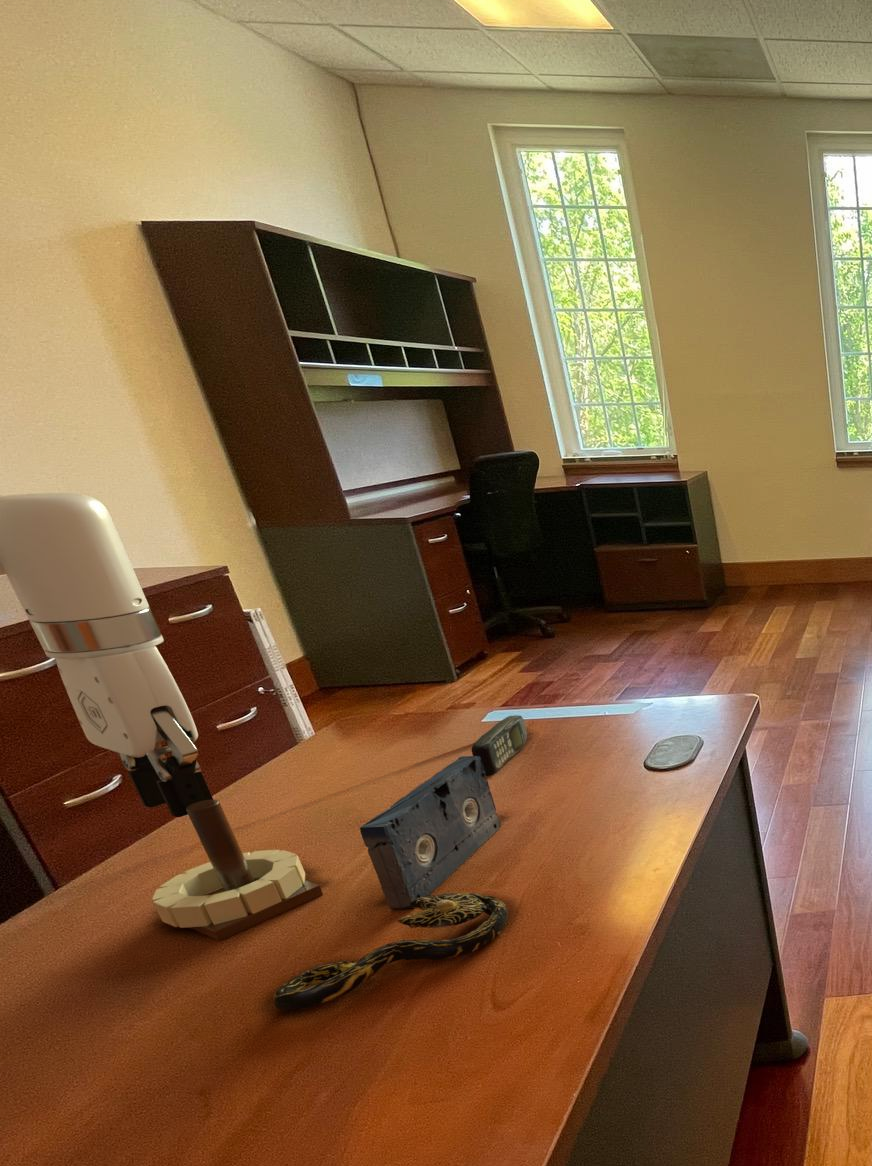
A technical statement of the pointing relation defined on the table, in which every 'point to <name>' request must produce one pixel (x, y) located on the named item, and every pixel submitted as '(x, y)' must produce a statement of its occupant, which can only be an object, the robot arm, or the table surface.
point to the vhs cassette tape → (431, 831)
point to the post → (234, 869)
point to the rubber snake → (400, 948)
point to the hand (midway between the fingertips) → (179, 804)
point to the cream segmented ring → (191, 908)
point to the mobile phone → (500, 743)
